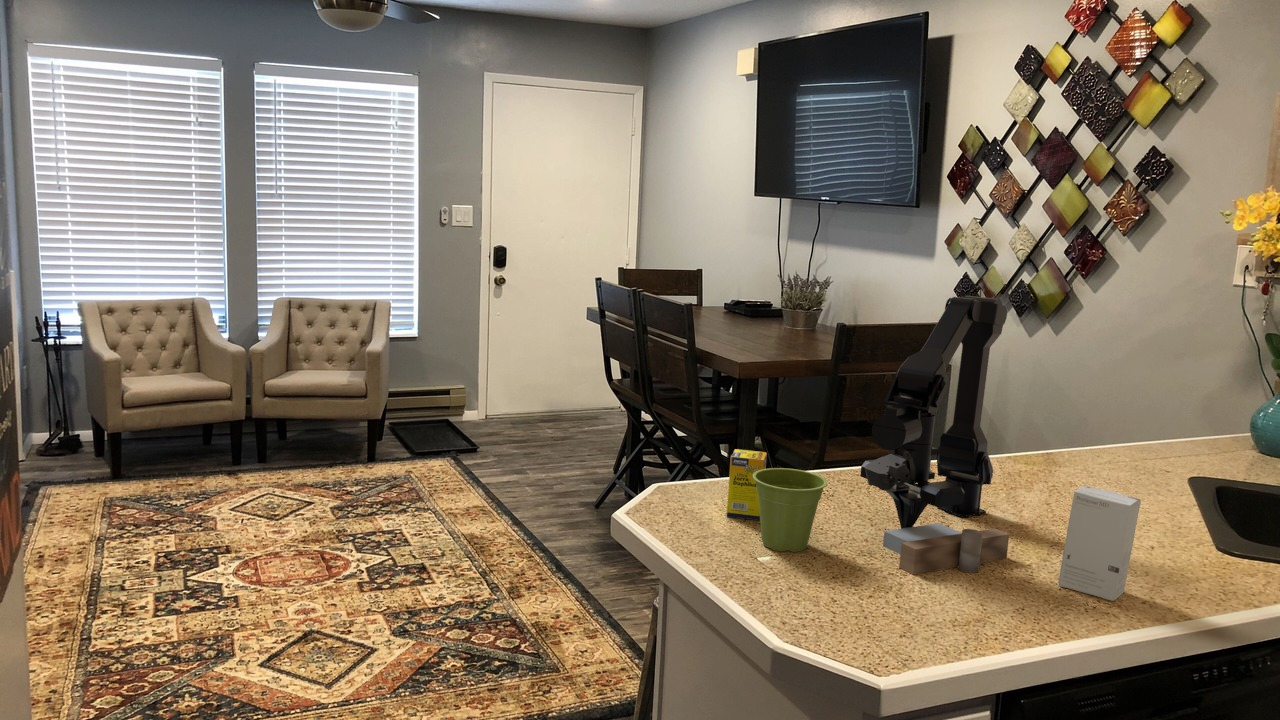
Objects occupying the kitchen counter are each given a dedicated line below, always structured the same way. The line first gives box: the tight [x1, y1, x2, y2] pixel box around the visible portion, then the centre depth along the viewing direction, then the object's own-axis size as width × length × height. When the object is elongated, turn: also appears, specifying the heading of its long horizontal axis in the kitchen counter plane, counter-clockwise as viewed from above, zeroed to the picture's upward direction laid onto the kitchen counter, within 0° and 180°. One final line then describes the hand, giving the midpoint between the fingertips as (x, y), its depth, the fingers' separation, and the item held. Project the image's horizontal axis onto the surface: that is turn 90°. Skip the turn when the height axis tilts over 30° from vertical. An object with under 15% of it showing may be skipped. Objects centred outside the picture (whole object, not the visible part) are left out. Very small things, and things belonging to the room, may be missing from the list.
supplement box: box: [726, 448, 768, 521], centre depth 174 cm, size 6×6×11 cm
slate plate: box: [882, 522, 962, 555], centre depth 161 cm, size 12×8×3 cm, turn 119°
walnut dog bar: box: [898, 528, 1010, 575], centre depth 154 cm, size 20×6×6 cm, turn 118°
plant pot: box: [753, 467, 828, 553], centre depth 159 cm, size 12×12×11 cm
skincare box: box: [1058, 485, 1142, 602], centre depth 146 cm, size 8×6×15 cm
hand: (905, 531), depth 165 cm, fingers closed
